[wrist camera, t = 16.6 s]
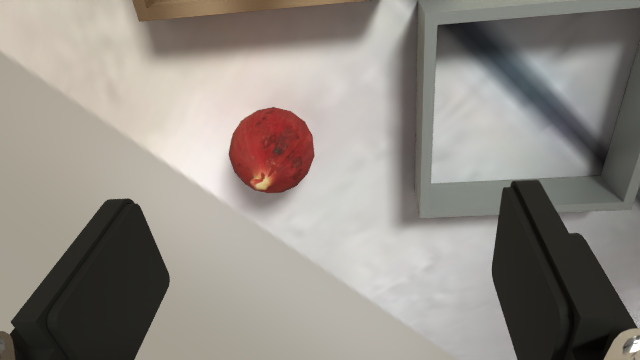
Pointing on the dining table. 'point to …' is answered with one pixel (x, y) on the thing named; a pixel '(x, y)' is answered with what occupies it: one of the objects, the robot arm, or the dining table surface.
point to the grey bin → (485, 196)
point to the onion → (271, 150)
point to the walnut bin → (214, 7)
